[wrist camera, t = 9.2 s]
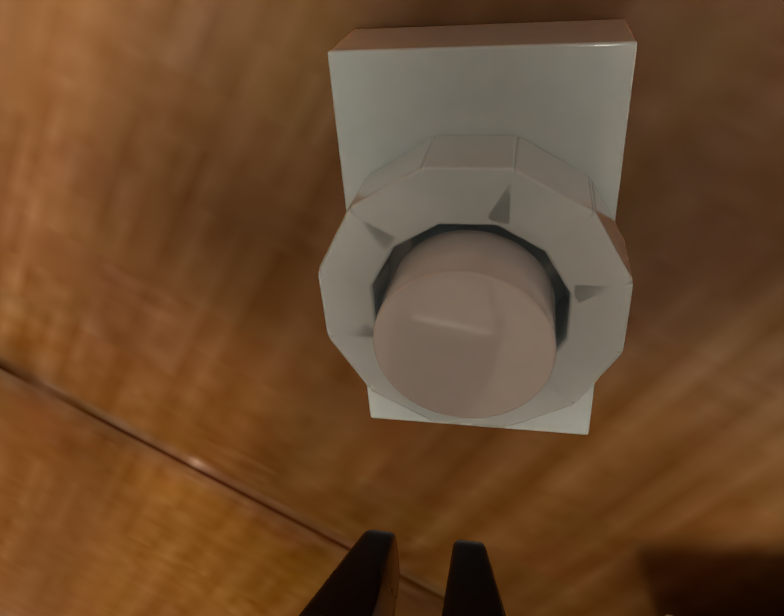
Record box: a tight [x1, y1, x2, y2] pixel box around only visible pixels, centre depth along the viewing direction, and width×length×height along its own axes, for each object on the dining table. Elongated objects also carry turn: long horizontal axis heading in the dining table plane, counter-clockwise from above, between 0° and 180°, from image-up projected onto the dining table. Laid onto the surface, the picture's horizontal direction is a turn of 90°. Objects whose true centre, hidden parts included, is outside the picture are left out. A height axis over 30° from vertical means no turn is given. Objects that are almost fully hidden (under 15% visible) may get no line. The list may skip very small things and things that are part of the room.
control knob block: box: [318, 19, 638, 435], centre depth 16 cm, size 10×6×4 cm, turn 4°
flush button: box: [373, 230, 556, 418], centre depth 14 cm, size 4×4×2 cm
